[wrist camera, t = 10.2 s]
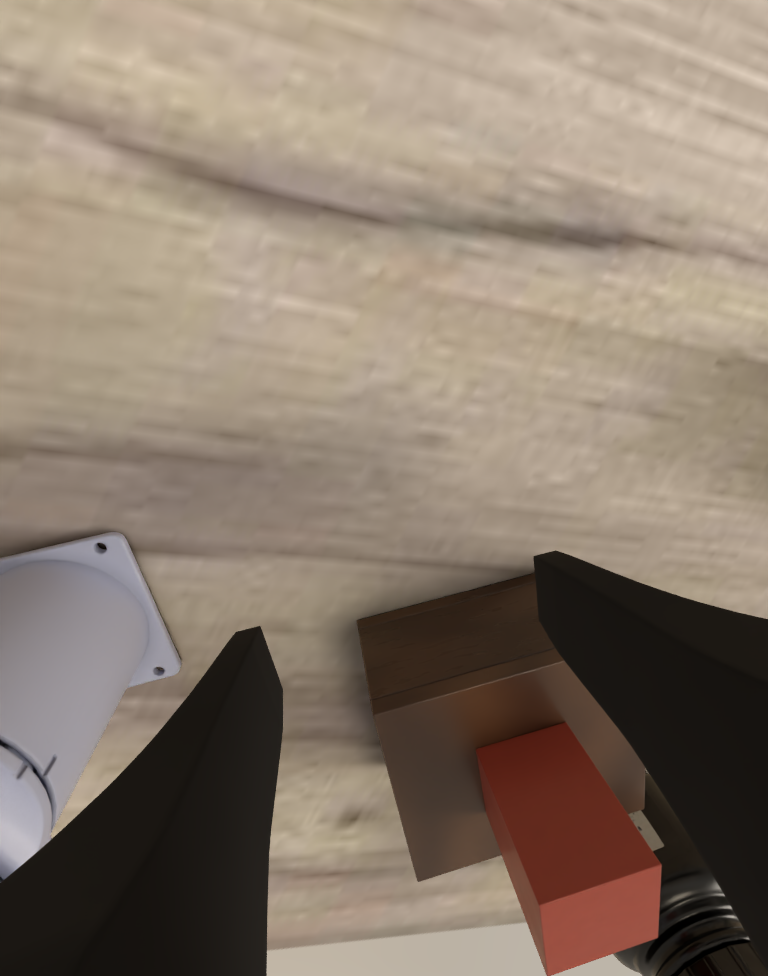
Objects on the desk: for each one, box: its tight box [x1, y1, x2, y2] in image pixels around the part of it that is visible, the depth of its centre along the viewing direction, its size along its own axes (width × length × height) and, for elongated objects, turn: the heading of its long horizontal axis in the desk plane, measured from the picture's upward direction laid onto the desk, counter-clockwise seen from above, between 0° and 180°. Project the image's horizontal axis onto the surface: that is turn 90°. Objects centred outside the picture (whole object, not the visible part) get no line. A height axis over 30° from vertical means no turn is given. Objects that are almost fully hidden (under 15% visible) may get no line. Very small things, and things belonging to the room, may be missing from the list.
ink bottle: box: [613, 773, 768, 976], centre depth 26 cm, size 10×9×12 cm
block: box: [476, 722, 662, 976], centre depth 17 cm, size 4×4×6 cm
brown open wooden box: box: [357, 573, 645, 882], centre depth 23 cm, size 12×11×6 cm
